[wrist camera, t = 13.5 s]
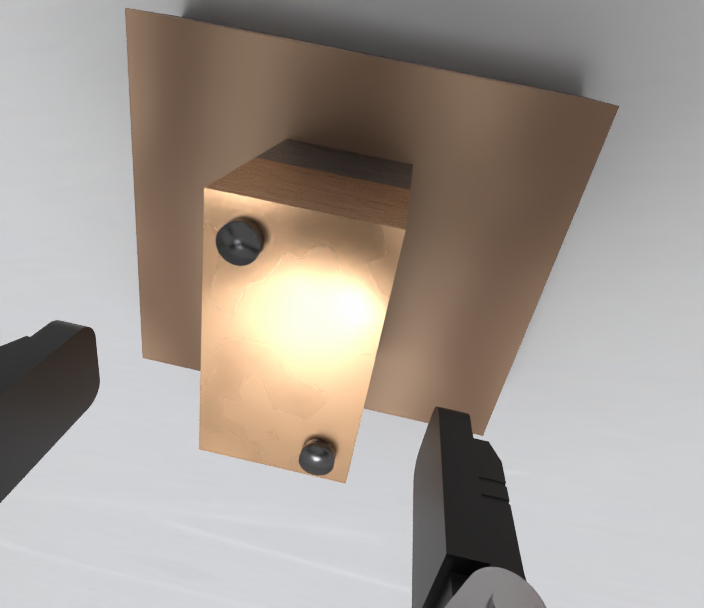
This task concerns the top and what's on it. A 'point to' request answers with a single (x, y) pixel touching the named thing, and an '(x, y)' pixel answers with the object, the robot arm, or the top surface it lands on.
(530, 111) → the walnut stand
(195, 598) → the top surface
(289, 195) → the block
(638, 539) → the top surface
